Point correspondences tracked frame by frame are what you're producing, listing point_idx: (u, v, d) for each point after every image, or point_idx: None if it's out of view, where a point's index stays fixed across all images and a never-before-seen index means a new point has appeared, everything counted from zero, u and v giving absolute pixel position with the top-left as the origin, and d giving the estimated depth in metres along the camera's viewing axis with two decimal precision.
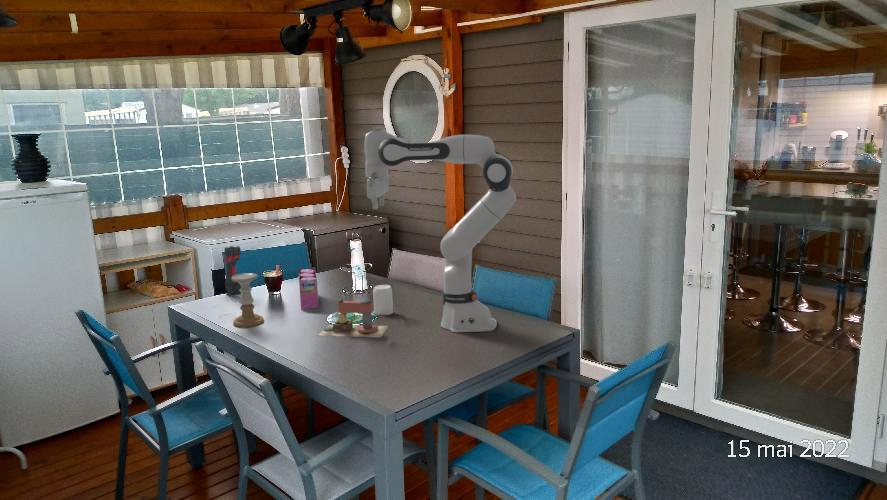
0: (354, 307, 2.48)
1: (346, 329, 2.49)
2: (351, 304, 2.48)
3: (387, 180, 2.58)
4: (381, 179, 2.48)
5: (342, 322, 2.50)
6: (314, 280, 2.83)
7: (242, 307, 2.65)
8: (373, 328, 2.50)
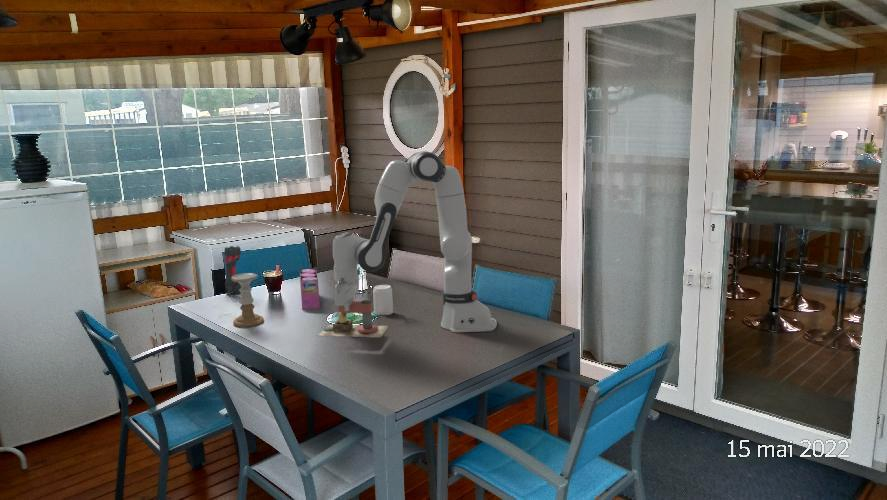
0: (354, 307, 2.48)
1: (346, 329, 2.49)
2: (351, 304, 2.48)
3: (357, 280, 2.53)
4: (350, 283, 2.42)
5: (342, 322, 2.50)
6: (315, 280, 2.83)
7: (242, 307, 2.65)
8: (373, 328, 2.50)
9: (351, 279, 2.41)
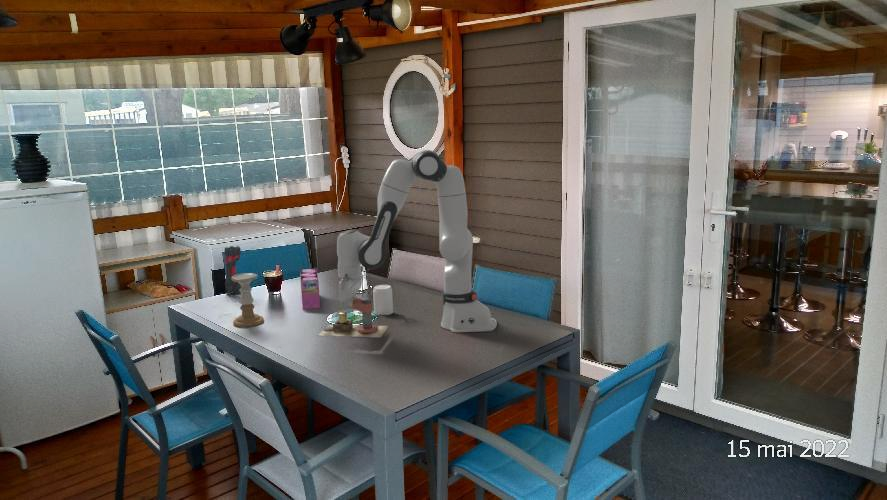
0: (357, 305, 2.51)
1: (346, 329, 2.49)
2: (355, 301, 2.52)
3: (360, 277, 2.57)
4: (353, 280, 2.47)
5: (343, 322, 2.50)
6: (316, 280, 2.83)
7: (242, 307, 2.65)
8: (370, 329, 2.48)
9: (355, 275, 2.46)
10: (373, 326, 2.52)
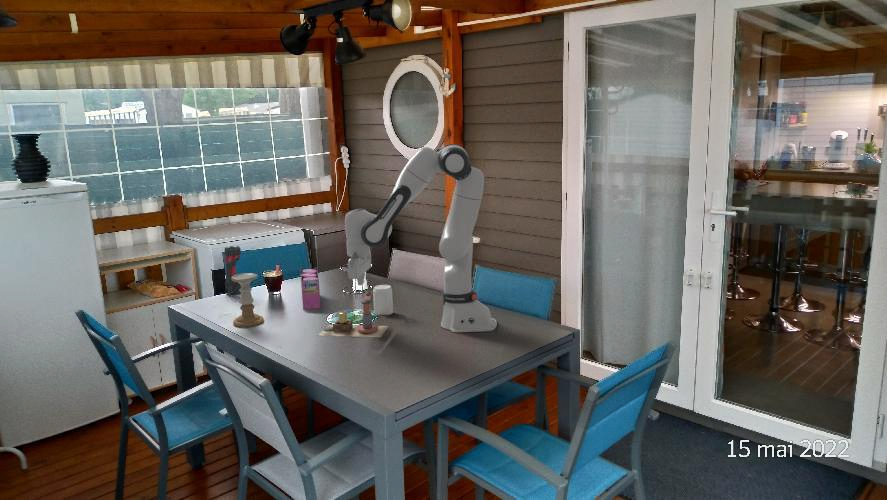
0: None
1: (346, 329, 2.49)
2: (364, 299, 2.54)
3: (369, 256, 2.59)
4: (362, 258, 2.49)
5: (343, 323, 2.50)
6: (316, 280, 2.83)
7: (242, 307, 2.65)
8: (365, 330, 2.48)
9: (363, 253, 2.48)
10: (374, 327, 2.50)
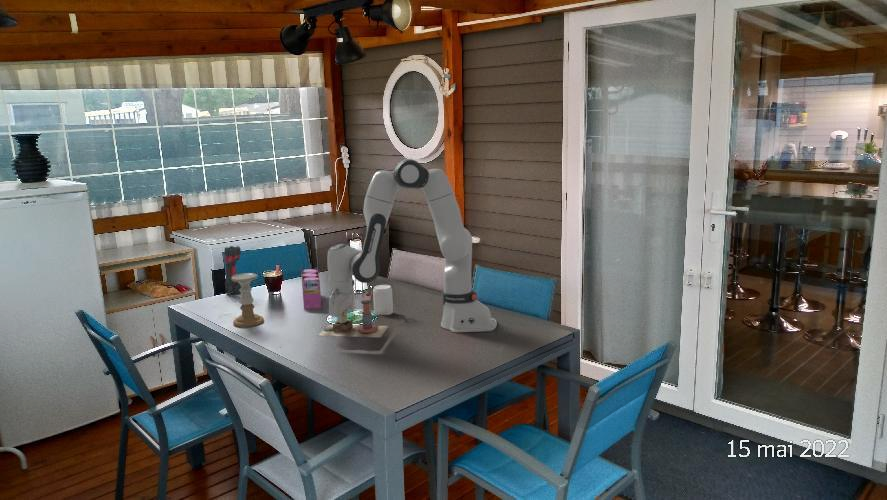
0: None
1: (346, 329, 2.49)
2: (364, 299, 2.54)
3: (352, 290, 2.57)
4: (344, 294, 2.47)
5: (344, 322, 2.50)
6: (317, 280, 2.83)
7: (242, 307, 2.65)
8: (365, 330, 2.48)
9: (345, 290, 2.45)
10: (374, 327, 2.50)
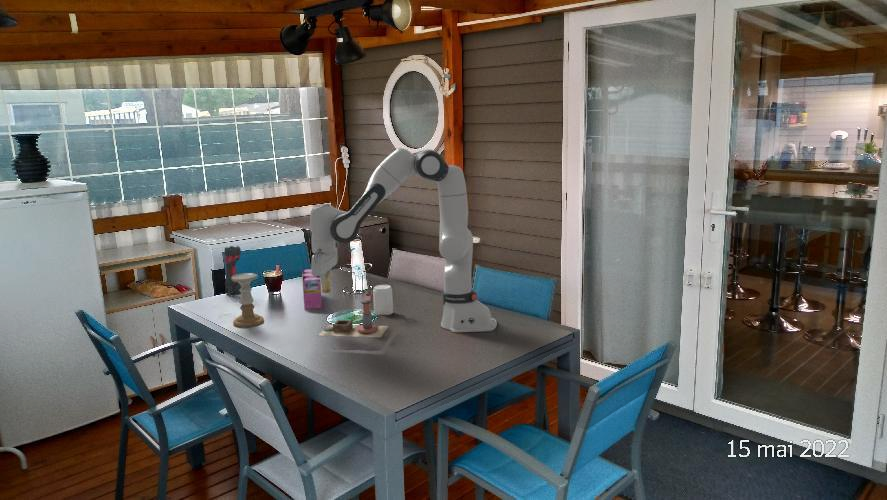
0: None
1: (346, 329, 2.49)
2: (364, 299, 2.54)
3: (335, 252, 2.54)
4: (327, 254, 2.44)
5: (327, 284, 2.48)
6: (317, 280, 2.83)
7: (242, 307, 2.65)
8: (365, 330, 2.48)
9: (328, 250, 2.43)
10: (374, 327, 2.50)
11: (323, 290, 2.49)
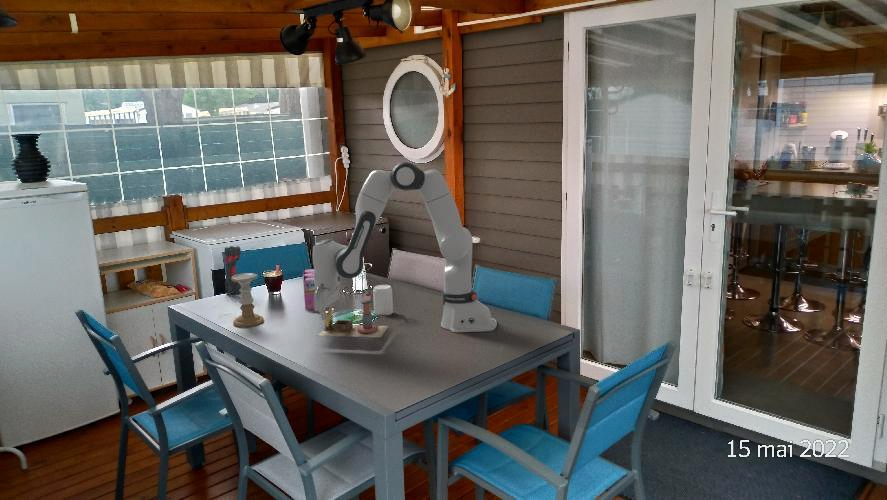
0: None
1: (346, 329, 2.49)
2: (364, 299, 2.54)
3: (338, 286, 2.57)
4: (329, 289, 2.47)
5: (329, 321, 2.51)
6: None
7: (242, 307, 2.65)
8: (365, 330, 2.48)
9: (331, 285, 2.46)
10: (374, 327, 2.50)
11: (326, 327, 2.52)
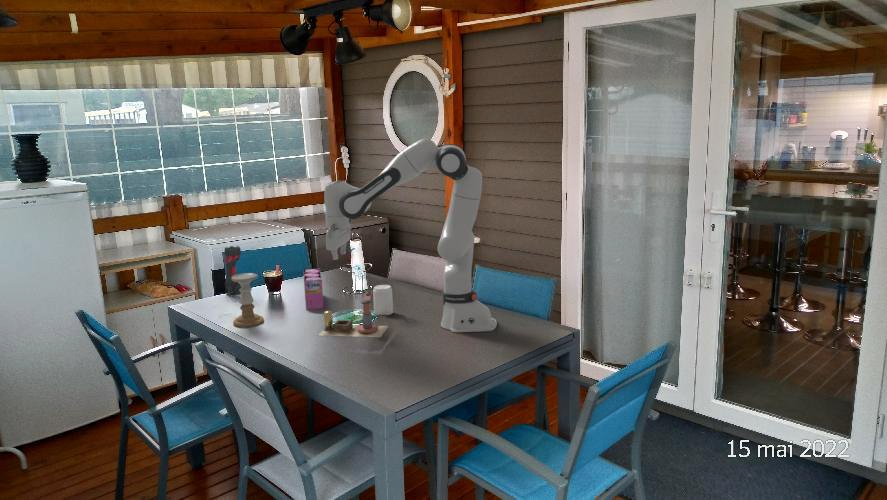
0: None
1: (346, 329, 2.49)
2: (364, 299, 2.54)
3: (349, 229, 2.59)
4: (341, 230, 2.49)
5: (329, 321, 2.51)
6: (319, 280, 2.83)
7: (242, 307, 2.65)
8: (365, 330, 2.48)
9: (342, 225, 2.47)
10: (374, 327, 2.50)
11: (326, 327, 2.52)
